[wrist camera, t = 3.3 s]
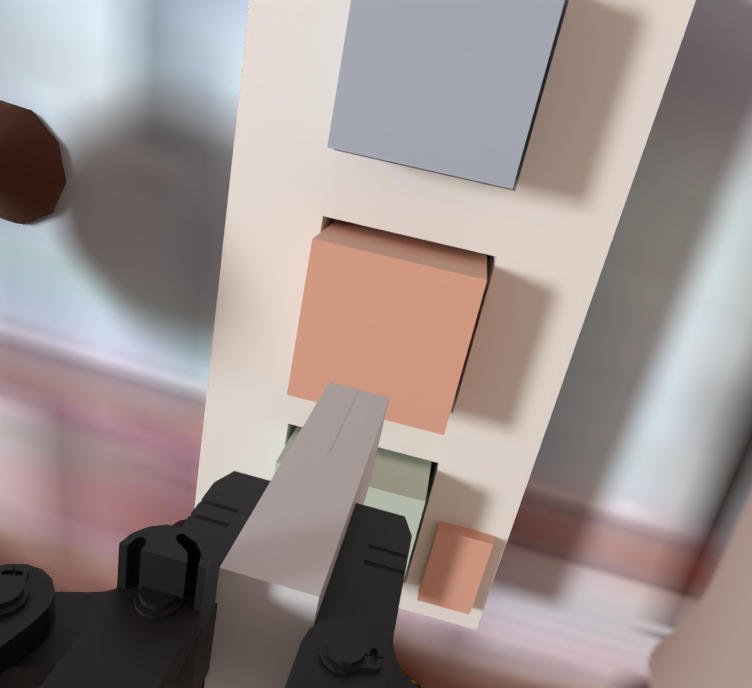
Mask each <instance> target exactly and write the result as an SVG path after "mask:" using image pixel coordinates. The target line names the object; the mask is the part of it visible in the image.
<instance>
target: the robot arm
mask: <svg viewBox="0 0 752 688" xmlns="http://www.w3.org/2000/svg"><path fill="white" fill-rule="evenodd" d="M389 398H390V397H386V396H382V395H378V394H374V393H370V392H366V391H363V390H359V389H355V388H351V387H347V386H343V385H340V384H336V383H332V382H329V383H328V385H327V387H326V388H325V390H324V392H323V393H322V395H321V397H320V398H319V400H318V402H317V403H316V405H315V407H314V409H313V410H312V412H311V414H310V415H309V417H308V419H307V420H306V422H305V424H304V426H303V427H302V429H301V431H300V432H299V434H298V436H297V437H296V439H295V441H294V442H293V444H292V446H291V448H290V449H289V451H288V453H287V454H286V456H285V458H284V459H283V461H282V463H281V464H280V466H279V468H278V470H277V471H276V473H275V475H274V476H273V478H272V480H271V481H269V480H266V479H262V478H258V477H255V476H251V475H248V474H244V473H240V472H237V471H233V472H231V473H230V474H228V475H226V476H224V477H223V478H221V479H219V480H217V481H216V482H214V483H213V484H212V486H211V487H210V488H209V490H208V491H207V492H206V494H205V495H204V497H203V498H202V500H201V502H199V503H198V505H197V506H196V507H195V509H194V510H193V511H192V513H191V516H189V517H188V518H187V520H186V521H185V522H184V524H183V525H182V526H181V527H179V526H172V525H160V526H151V527H147V528H144V529H142V530H139V531H136V532H134V533H132V534H130V535H129V536H128V537H127V538H125V539H124V540H123V541H122V542H120V543H119V561H118V581H117V588H116V589H114V590H109V591H105V592H91V593H87V592H55V590H54V586H53V581H52V578H50V577H49V576H48V575H47V574H46V573H45V572H44V571H43V570H42V569H39V568H36V567H33V566H30V565H27V564H6V565H1V566H0V688H201V686H202V684H203V682H204V680H205V683H204V688H419V687H418V686H417V685H415V684H414V683H413V682H412V681H411V680H410V679H409V678H408V677H407V676H406V675H405V673H404V672H403V671H402V669H401V668H400V666H399V664H398V662H397V660H396V657H395V653H394V649H393V635H394V629H395V624H396V619H397V613H398V608H399V603H400V597H401V592H402V587H403V581H404V575H405V571H406V565H407V560H408V555H409V549H410V544H411V539H412V535H411V532H410V529H409V526H408V524H407V521H406V518H405V516H402V515H398V514H395V513H391V512H388V511H384V510H380V509H377V508H373V507H369V506H366V505H363V504H364V501H365V498H366V495H367V492H368V488H369V484H370V480H371V475H372V471H373V467H374V462H375V458H376V454H377V450H378V445H379V441H380V437H381V432H382V428H383V424H384V420H385V415H386V411H387V407H388V402H389Z"/></svg>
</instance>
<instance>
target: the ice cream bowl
mask: <svg viewBox="0 0 752 688" xmlns="http://www.w3.org/2000/svg"><path fill="white" fill-rule="evenodd" d="M65 183H66V180H65V175H64V170H63V165H62V160H61V154H60V149H59V144H58V142H57V141H56V140H55V138H54V137H53V136H52V135H51V134H50V132H49V131H48V130H47V129H46V128H45V126H44V125H43V124H42V123H41V122H40V121H39V119H38V118H37V117H36V116H35V115H34V113H33V112H32V111H31V110H28V109H25V108H22V107H19V106H16V105H13V104H10V103H7V102H3V101H0V218H2V219H5V220H8V221H11V222H14V223H19V224H26V223H28V222H31V221H33V220H36V219H38V218H41V217H43V216H46V215H48V214H51V213H53V210H54V208H55V206H56V204H57V201H58V199H59V197H60V195H61V192H62V190H63V188H64V185H65Z"/></svg>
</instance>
